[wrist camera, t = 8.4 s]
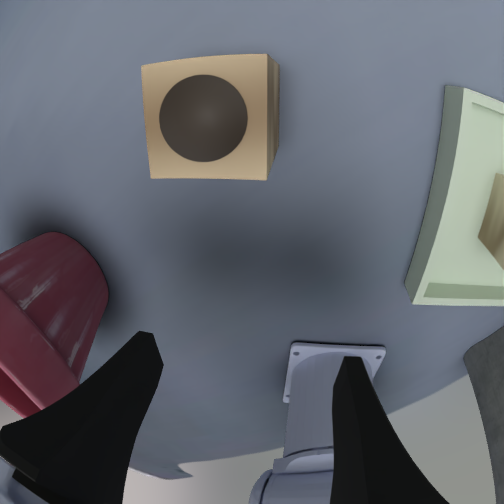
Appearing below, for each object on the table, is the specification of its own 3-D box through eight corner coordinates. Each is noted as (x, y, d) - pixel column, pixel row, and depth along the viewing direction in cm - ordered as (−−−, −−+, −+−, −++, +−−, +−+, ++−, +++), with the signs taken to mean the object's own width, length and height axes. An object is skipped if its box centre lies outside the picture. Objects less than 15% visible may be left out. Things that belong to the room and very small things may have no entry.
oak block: (278, 146, 15) (266, 181, 10) (198, 145, 16) (149, 179, 11) (279, 65, 13) (266, 53, 8) (195, 68, 14) (140, 65, 9)
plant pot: (7, 193, 20) (-92, 272, 9) (125, 216, 19) (1, 354, 9) (40, 307, 28) (-19, 386, 17) (142, 346, 27) (89, 457, 16)
